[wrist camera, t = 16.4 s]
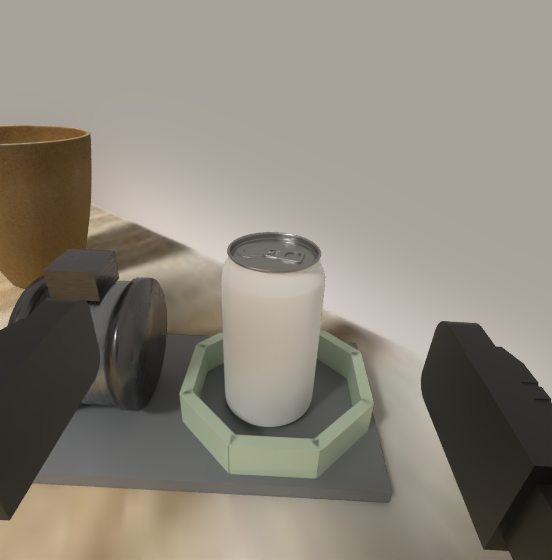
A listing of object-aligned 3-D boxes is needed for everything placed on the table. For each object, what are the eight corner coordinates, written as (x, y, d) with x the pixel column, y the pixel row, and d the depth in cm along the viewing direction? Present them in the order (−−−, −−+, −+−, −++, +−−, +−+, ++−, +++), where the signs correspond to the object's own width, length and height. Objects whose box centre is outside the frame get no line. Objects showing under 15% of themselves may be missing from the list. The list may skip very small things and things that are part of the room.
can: (242, 359, 32) (241, 224, 26) (318, 376, 31) (335, 236, 25) (211, 418, 27) (201, 264, 21) (302, 441, 25) (318, 282, 20)
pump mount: (-9, 480, 23) (-29, 441, 22) (94, 339, 36) (86, 307, 34) (388, 502, 23) (400, 464, 21) (354, 352, 35) (359, 320, 34)
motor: (29, 436, 25) (-27, 294, 20) (92, 348, 33) (63, 230, 28) (133, 441, 25) (104, 300, 20) (171, 352, 33) (157, 235, 28)
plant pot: (132, 280, 45) (110, 137, 38) (-20, 323, 37) (-89, 150, 29) (93, 239, 55) (68, 120, 48) (-35, 266, 47) (-90, 126, 39)
